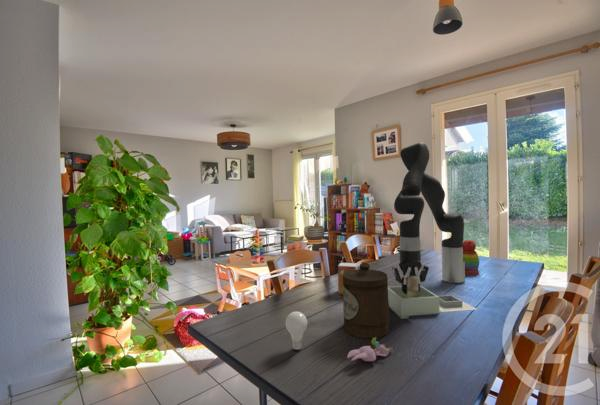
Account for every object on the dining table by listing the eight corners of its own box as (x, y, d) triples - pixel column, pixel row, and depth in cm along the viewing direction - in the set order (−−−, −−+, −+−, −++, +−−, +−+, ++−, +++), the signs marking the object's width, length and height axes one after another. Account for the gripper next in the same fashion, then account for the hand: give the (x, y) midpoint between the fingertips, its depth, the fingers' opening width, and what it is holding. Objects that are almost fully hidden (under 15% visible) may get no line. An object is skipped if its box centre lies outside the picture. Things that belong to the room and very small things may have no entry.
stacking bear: (459, 269, 167) (459, 238, 166) (480, 271, 161) (479, 239, 160) (456, 273, 158) (456, 240, 158) (478, 276, 152) (478, 242, 152)
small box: (338, 294, 131) (337, 265, 131) (340, 289, 137) (340, 262, 137) (356, 295, 129) (355, 266, 128) (358, 291, 135) (357, 263, 134)
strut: (413, 299, 114) (413, 273, 114) (418, 302, 110) (418, 276, 110) (403, 299, 114) (403, 274, 113) (408, 303, 110) (407, 277, 109)
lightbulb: (286, 344, 89) (284, 308, 88) (306, 343, 89) (305, 307, 89) (286, 356, 82) (285, 317, 82) (309, 354, 83) (308, 315, 83)
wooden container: (341, 319, 106) (340, 258, 105) (383, 318, 105) (381, 257, 104) (346, 339, 91) (345, 269, 90) (395, 338, 90) (393, 268, 90)
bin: (419, 301, 119) (419, 284, 119) (439, 316, 105) (439, 296, 105) (386, 304, 118) (385, 286, 118) (401, 318, 104) (401, 299, 104)
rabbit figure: (379, 351, 86) (340, 360, 78) (381, 330, 86) (342, 337, 78) (396, 361, 81) (357, 371, 73) (398, 339, 81) (359, 347, 73)
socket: (454, 298, 122) (454, 291, 122) (477, 312, 108) (477, 304, 108) (422, 300, 121) (421, 293, 120) (441, 314, 107) (441, 306, 106)
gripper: (422, 245, 116) (423, 288, 116) (387, 247, 114) (388, 291, 115) (433, 249, 108) (433, 295, 109) (395, 251, 107) (396, 297, 107)
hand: (410, 292), depth 112 cm, fingers closed on strut, 4 cm apart
